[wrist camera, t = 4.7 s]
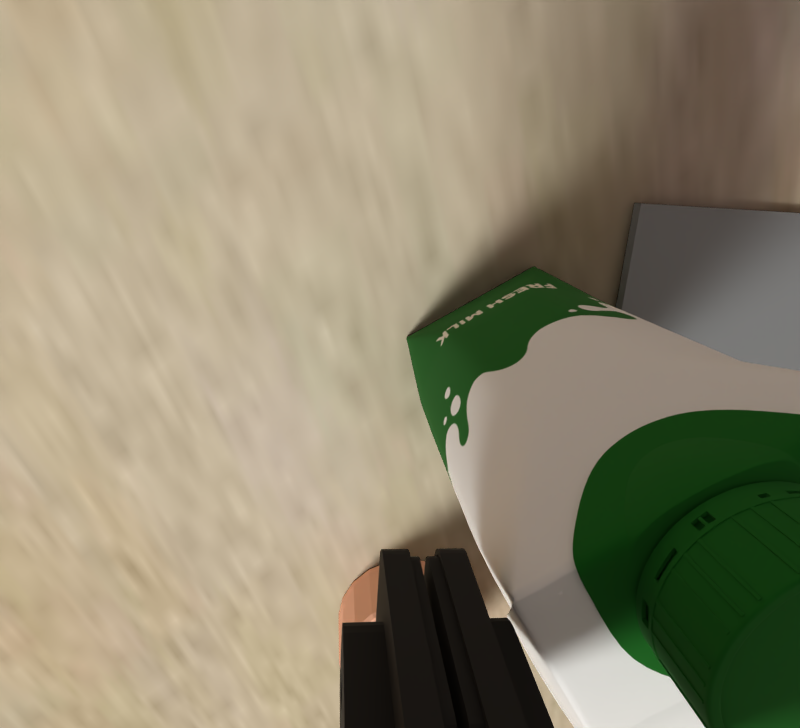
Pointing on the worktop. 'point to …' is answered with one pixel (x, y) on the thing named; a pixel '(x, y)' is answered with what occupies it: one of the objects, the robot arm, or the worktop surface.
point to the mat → (717, 279)
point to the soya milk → (625, 504)
